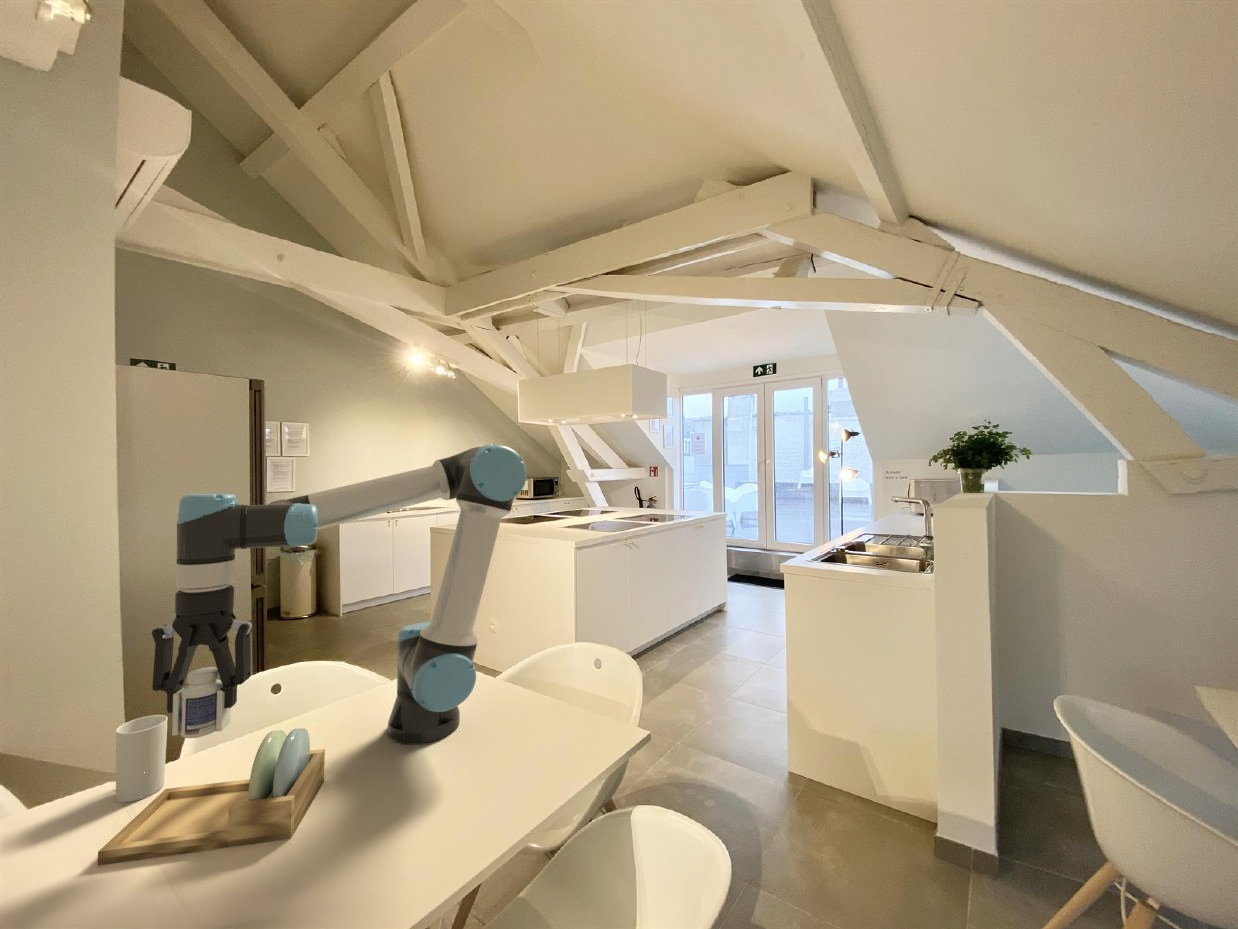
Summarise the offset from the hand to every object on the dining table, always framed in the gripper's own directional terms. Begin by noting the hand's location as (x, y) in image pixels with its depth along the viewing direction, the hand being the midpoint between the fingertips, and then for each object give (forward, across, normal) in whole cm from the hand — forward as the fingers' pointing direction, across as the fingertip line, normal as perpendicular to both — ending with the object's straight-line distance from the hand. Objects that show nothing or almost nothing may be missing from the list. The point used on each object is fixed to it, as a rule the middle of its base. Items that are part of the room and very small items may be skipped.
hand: (201, 729), depth 83 cm
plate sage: (+15, -10, 0) cm, 18 cm away
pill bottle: (+1, 0, 0) cm, 1 cm away
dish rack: (+15, -4, 0) cm, 15 cm away
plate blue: (+15, -14, 0) cm, 20 cm away
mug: (+15, +15, -13) cm, 25 cm away
